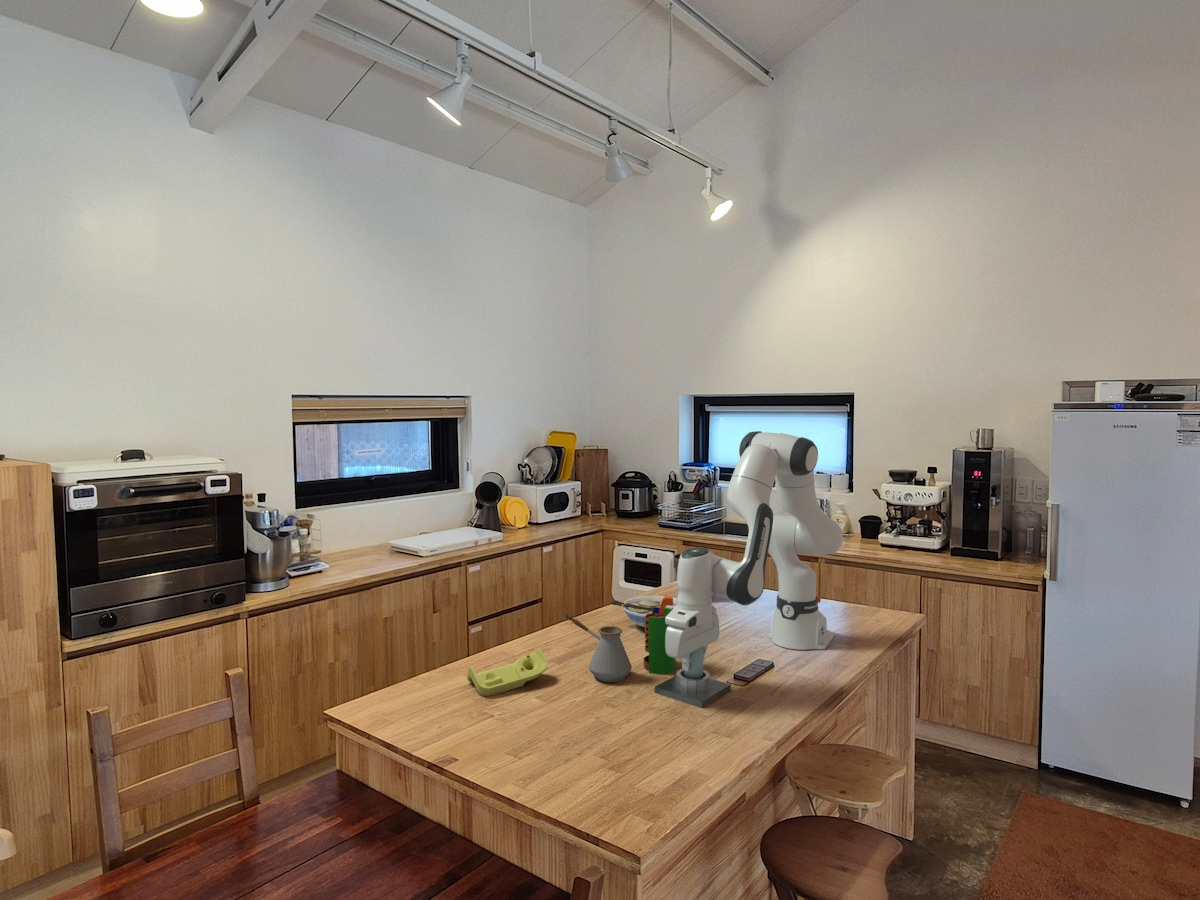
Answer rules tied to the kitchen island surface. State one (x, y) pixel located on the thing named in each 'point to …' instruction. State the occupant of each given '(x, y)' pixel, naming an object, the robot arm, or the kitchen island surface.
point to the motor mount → (693, 689)
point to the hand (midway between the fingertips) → (693, 665)
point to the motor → (658, 640)
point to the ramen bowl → (642, 607)
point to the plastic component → (509, 674)
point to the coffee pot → (607, 654)
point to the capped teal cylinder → (695, 665)
